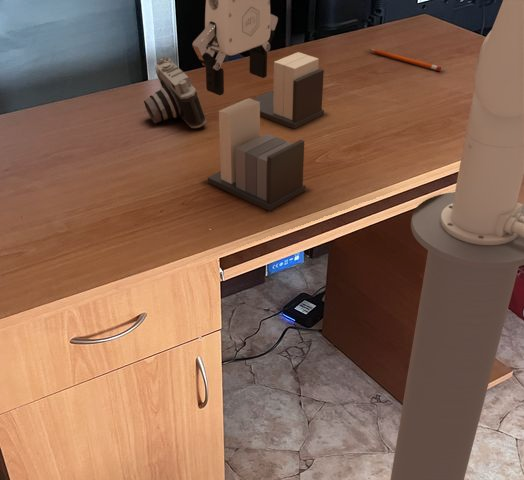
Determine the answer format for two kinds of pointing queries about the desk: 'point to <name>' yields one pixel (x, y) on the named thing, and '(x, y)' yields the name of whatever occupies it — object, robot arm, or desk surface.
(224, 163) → the white book
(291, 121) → the dark bookend stand
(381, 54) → the pencil
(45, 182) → the desk surface
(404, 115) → the desk surface
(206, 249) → the desk surface
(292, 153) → the grey rack
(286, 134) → the desk surface
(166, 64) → the camera
